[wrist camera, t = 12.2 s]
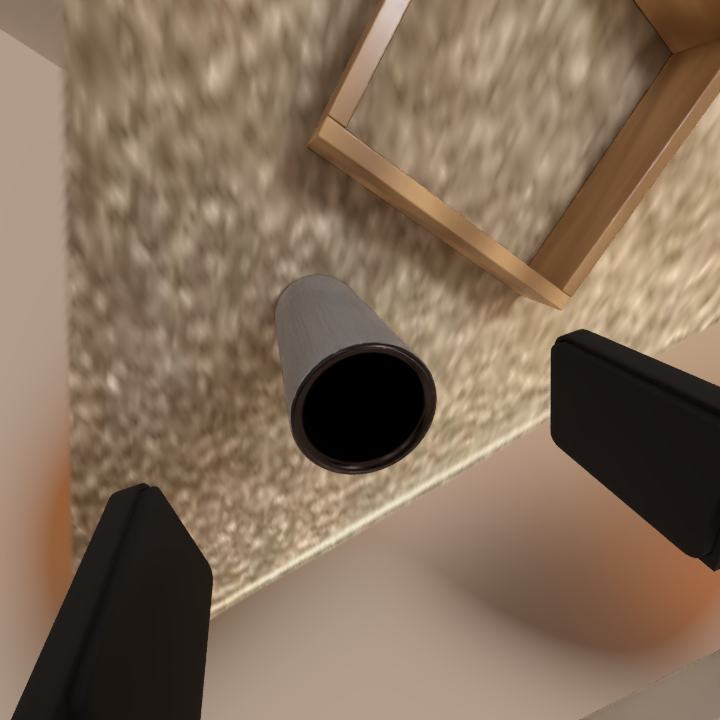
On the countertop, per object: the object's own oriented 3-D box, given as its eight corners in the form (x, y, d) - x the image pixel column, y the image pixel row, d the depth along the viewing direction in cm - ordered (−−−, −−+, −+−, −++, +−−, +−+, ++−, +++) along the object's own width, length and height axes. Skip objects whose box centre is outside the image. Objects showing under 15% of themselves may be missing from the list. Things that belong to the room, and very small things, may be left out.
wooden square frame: (306, 146, 17) (317, 135, 14) (494, -236, 14) (562, -359, 11) (521, 295, 23) (562, 311, 20) (690, 49, 20) (771, 21, 17)
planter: (320, 370, 22) (366, 498, 13) (256, 320, 20) (255, 428, 11) (375, 312, 21) (465, 402, 12) (315, 254, 19) (368, 309, 10)
